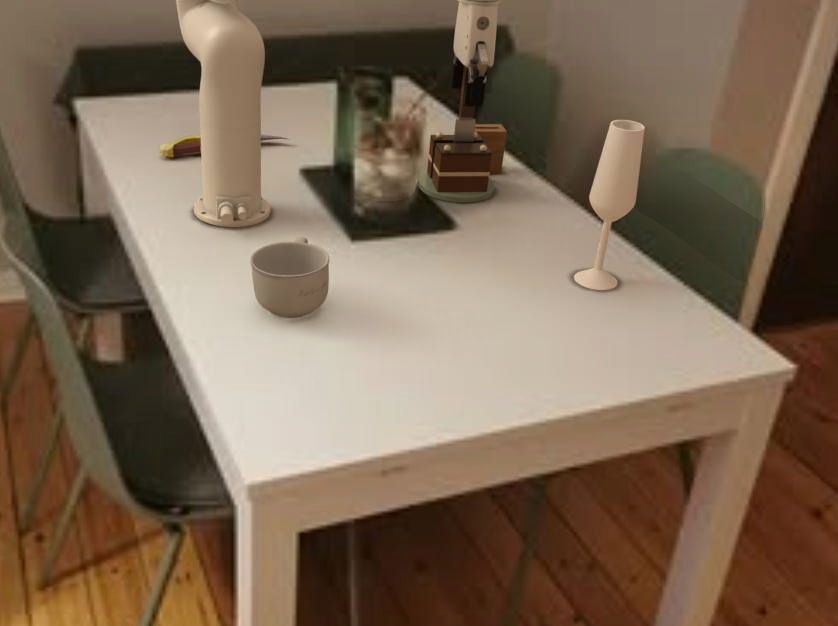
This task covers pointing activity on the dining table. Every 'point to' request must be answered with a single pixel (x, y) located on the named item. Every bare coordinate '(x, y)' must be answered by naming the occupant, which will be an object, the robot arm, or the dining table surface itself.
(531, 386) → the dining table surface
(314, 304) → the teacup
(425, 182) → the cake plate
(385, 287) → the dining table surface
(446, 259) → the dining table surface
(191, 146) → the knife
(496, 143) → the knife holder
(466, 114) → the cake knife
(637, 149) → the champagne flute
